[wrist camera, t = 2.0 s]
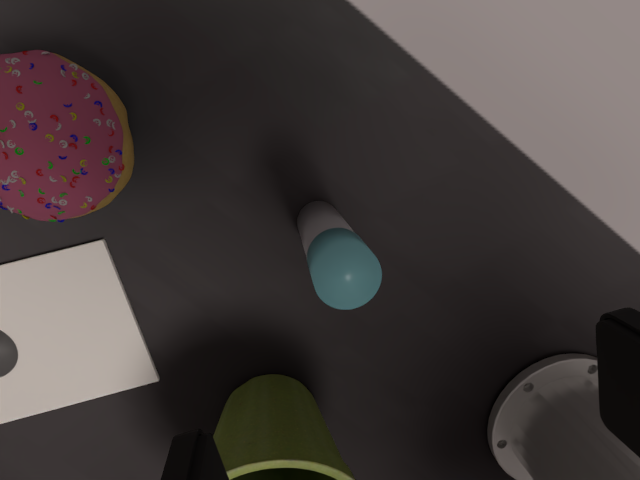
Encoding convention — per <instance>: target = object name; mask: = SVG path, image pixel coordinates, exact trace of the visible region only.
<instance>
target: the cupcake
mask: <svg viewBox="0 0 640 480" xmlns="http://www.w3.org/2000/svg"><path fill="white" fill-rule="evenodd" d="M133 166H134V147H133V140H132V136H131V132H130V129H129V125H128V119H127V111H126V108H125V106H124V105H123V103H122V101H121V100H120V98H119V97H118V96H117V94H116V93H115V92H114V91H113V90H112V89H111V88H110V87H109V86H108V85H107V84H106V83H105V82H104V81H103V80H101V79H100V78H98V77H97V76H95V75H94V74H92V73H91V72H89V71H88V70H86V69H84V68H83V67H81V66H79V65H77V64H76V63H74V62H72V61H70V60H68V59H66V58H65V57H63V56H61V55H58V54H55V53H51V52H48V51H44V50H31V51H23V52H17V53H10V54H0V208H2V209H5V210H10V211H11V212H12V213H13V212H15V213H18V214H21V215H22V216H23V217H24V218H25V219H29V217H30V218H33V219H36V220H40V221H51V222H54V221H58V222H63V221H64V219H68V218H76V217H80V216H84V215H86V214H89V213H91V212H94V211H96V210H98V209H101V208H103V207H105V206H106V205H108V204H109V203H110V202H111V201H112V200H113V199H114V198H115V197H116V196H117V195H118V194H119V193H120V192H121V190H122V189H123V188H124V187H125V186H126V184H127V183H128V181H129V180H130V178H131V175H132V171H133ZM26 216H27V217H26ZM60 220H61V221H60Z"/></svg>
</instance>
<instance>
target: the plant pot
mask: <svg viewBox="0 0 640 480" xmlns="http://www.w3.org/2000/svg"><path fill="white" fill-rule="evenodd" d="M213 438H214V441H215V444H216V446H217V449H218V452H219V454H220V457H221V459H222V462H223V465H224V467H225V470H226V473H227V475H228V478H229V480H356V479H355V478H354V476H353V474H352V472H351V471H350V469H349V468H348V466H347V465H346V464H345V463H344V462H343V460H342V458H341V456H340V454H339V451H338V449H337V447H336V445H335V443H334V441H333V438H332V436H331V434H330V432H329V430H328V428H327V426H326V424H325V421H324V419H323V417H322V415H321V413H320V410H319V408H318V406H317V404H316V402H315V399H314V397H313V396H312V394H311V393H310V392H309V391H308V389H307V388H306V387H305V386H304V385H303V384H302V383H301V382H299V381H297V380H295V379H293V378H291V377H288V376H284V375H278V374H269V375H262V376H257V377H254V378H252V379H250V380H249V381H247V382H246V383H245V384H243V385H241V386H240V387H238V388H237V389H235V390H234V391H233V392H232V394H231V395H230V397H229V398H228V400H227V402H226V404H225V406H224V409H223V411H222V414H221V417H220V419H219V422H218V425H217V428H216V430H215V433H214V436H213Z"/></svg>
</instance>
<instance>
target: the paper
mask: <svg viewBox="0 0 640 480" xmlns="http://www.w3.org/2000/svg"><path fill="white" fill-rule="evenodd" d="M159 380H160V377H159V375H158V372H157V370H156V367H155V365H154V362H153V360H152V357H151V355H150V352H149V350H148V347H147V345H146V342H145V340H144V337H143V335H142V332H141V330H140V327H139V325H138V322H137V320H136V317H135V315H134V312H133V310H132V307H131V305H130V302H129V300H128V297H127V294H126V292H125V289H124V287H123V284H122V282H121V279H120V277H119V274H118V272H117V269H116V267H115V264H114V262H113V259H112V257H111V254H110V252H109V249H108V247H107V244H106V242H105V239H102V240H98V241H94V242H90V243H86V244H82V245H78V246H74V247H70V248H66V249H62V250H58V251H54V252H50V253H46V254H42V255H38V256H34V257H30V258H26V259H22V260H18V261H14V262H10V263H6V264H2V265H0V424H2V423H6V422H9V421H13V420H17V419H21V418H24V417H28V416H32V415H35V414H39V413H43V412H46V411H50V410H54V409H57V408H61V407H65V406H69V405H72V404H76V403H80V402H83V401H87V400H91V399H94V398H98V397H102V396H105V395H109V394H113V393H117V392H120V391H124V390H128V389H131V388H135V387H139V386H142V385H146V384H150V383H153V382H157V381H159Z"/></svg>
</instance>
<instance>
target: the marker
mask: <svg viewBox="0 0 640 480" xmlns="http://www.w3.org/2000/svg"><path fill="white" fill-rule="evenodd" d="M297 228H298V231H299V234H300V238H301V241H302V244H303V248H304V251H305V254H306V258H307V264H308V268H309V271H310V275H311V278H312V281H313V285H314V288H315V291H316V293H317V295H318V296H319V298H320V299H321V300H322V301H323V302H324V303H326V304H327V305H329V306H331V307H333V308H336V309H342V310H348V309H354V308H358V307H360V306H362V305H364V304H366V303H367V302H368V301H370V300H371V299H372V298H373V297H374V295H375V294H376V293H377V291H378V289H379V287H380V284H381V279H382V271H381V266H380V263H379V261H378V259H377V258H376V256H375V255H374V254H373V253H372V251H371V250H370V249H369V248H368V247H367V245H366V244H365V243H364V242H363V240H362V239H361V238H360V237H359V236H358V235H357V234H356V233H355V232H354V231H353V230H352V228H351V227H350V226H349V225H348V224H347V222H346V221H345V220H344V219H343V217H342V216H341V215H340V214H339V212H338V211H337V210H336V209H335V208H334V207H333V206H332V205H331V204H329V203H327V202H325V201H313V202H310V203H308V204H307V205H305V206H304V207H303V208H302V209H301V211H300V212H299V214H298V217H297Z"/></svg>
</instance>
